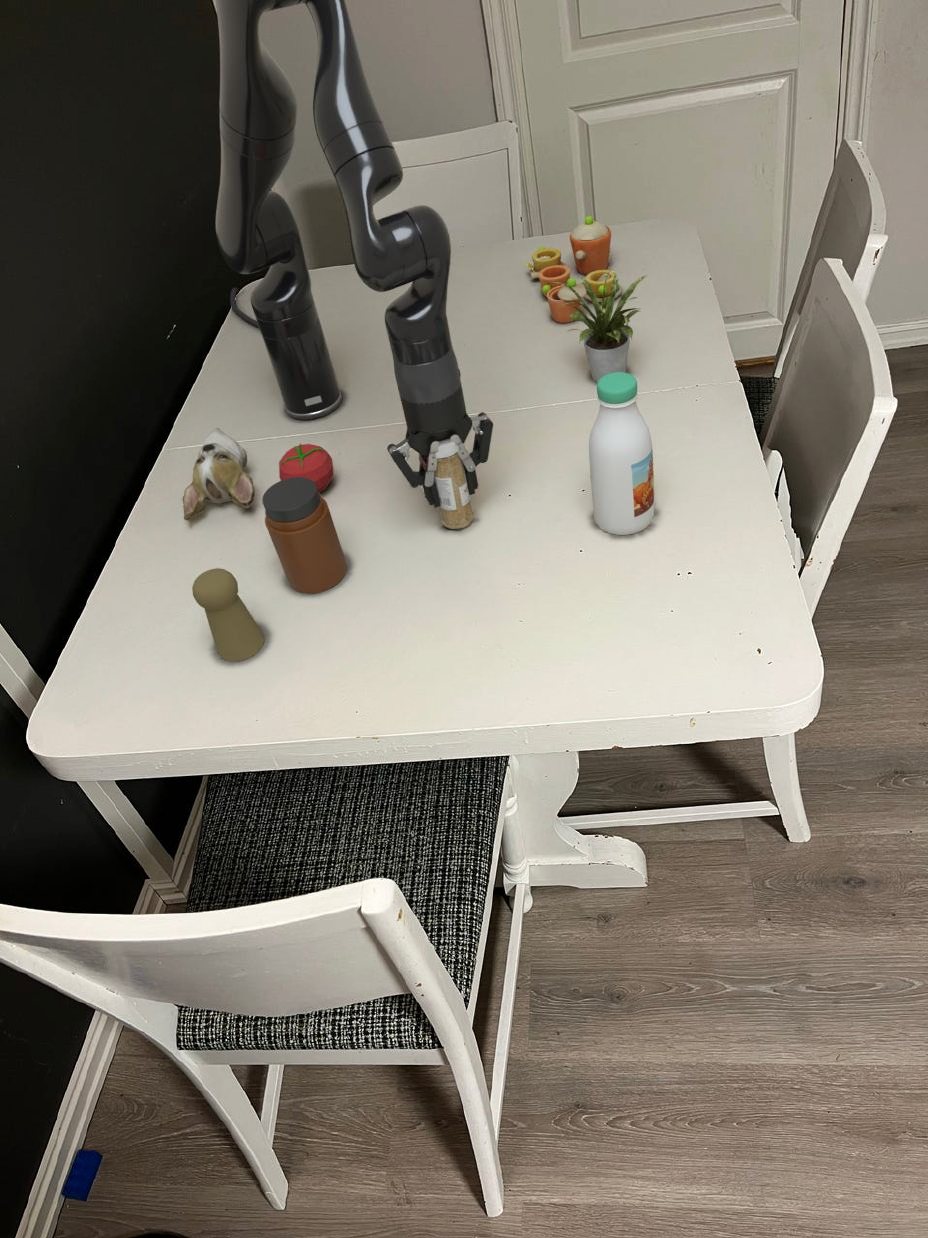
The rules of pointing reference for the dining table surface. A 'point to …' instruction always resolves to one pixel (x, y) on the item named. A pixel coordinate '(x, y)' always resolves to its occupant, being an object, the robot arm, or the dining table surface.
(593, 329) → the house plant
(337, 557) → the amber bottle
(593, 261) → the toy tea set
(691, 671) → the dining table surface
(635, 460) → the milk bottle
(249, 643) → the cork
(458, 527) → the spice jar
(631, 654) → the dining table surface
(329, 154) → the robot arm
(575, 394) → the dining table surface
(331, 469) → the tomato
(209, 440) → the ceramic sculpture
